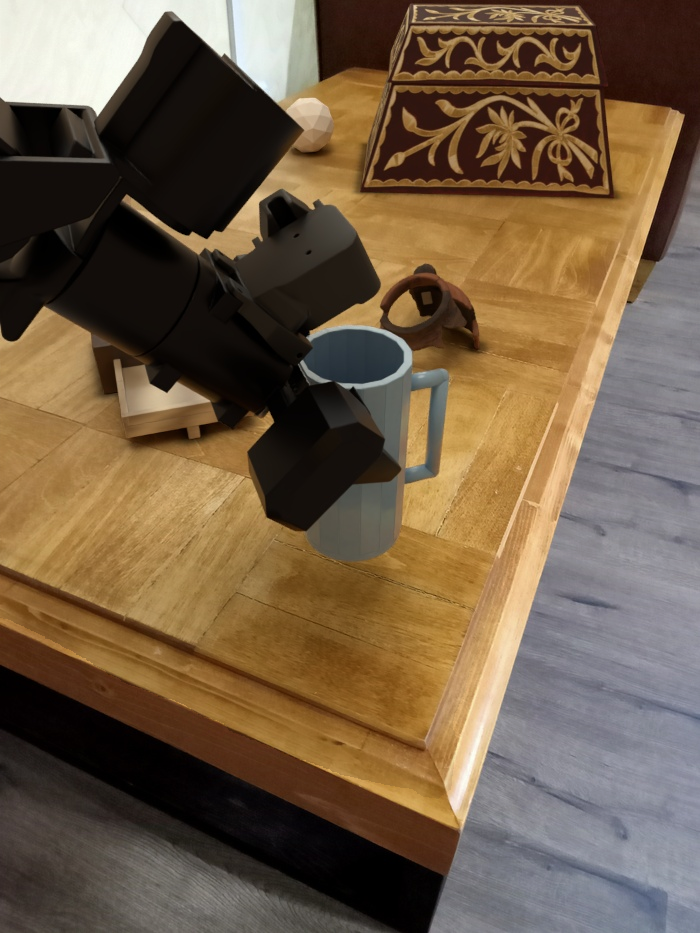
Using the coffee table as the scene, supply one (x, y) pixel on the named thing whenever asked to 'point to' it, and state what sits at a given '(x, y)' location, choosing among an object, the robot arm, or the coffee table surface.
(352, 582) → the coffee table surface
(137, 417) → the walnut box
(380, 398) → the tall blue mug
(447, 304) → the brown hollow shell
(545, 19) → the decorative box
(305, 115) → the geometric ball
